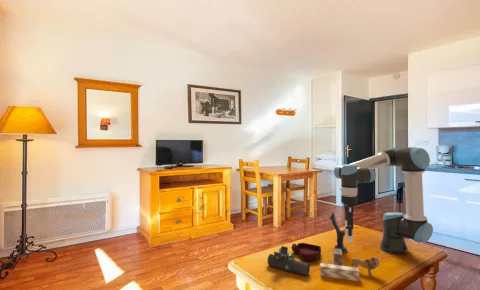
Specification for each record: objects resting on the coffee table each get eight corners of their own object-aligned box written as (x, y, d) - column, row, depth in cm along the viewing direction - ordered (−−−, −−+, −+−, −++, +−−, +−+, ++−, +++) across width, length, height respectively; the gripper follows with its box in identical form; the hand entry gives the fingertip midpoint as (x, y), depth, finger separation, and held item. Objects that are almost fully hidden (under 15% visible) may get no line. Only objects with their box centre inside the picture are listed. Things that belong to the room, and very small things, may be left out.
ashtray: (329, 260, 154) (329, 251, 153) (304, 264, 149) (304, 255, 149) (312, 248, 171) (312, 241, 171) (289, 251, 166) (289, 243, 166)
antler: (342, 247, 172) (342, 208, 171) (351, 252, 164) (351, 211, 164) (327, 250, 168) (327, 210, 168) (335, 255, 160) (335, 213, 160)
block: (358, 277, 134) (358, 267, 134) (359, 281, 130) (359, 271, 130) (320, 272, 140) (320, 262, 140) (320, 276, 136) (320, 266, 136)
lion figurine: (379, 273, 138) (379, 256, 138) (379, 278, 133) (379, 260, 133) (348, 267, 145) (348, 250, 145) (347, 271, 140) (347, 254, 140)
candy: (294, 259, 153) (291, 253, 153) (290, 263, 152) (286, 257, 152) (285, 251, 165) (281, 246, 164) (280, 254, 164) (277, 249, 163)
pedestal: (342, 263, 150) (343, 248, 150) (344, 270, 141) (344, 255, 141) (331, 261, 152) (331, 247, 152) (332, 268, 143) (332, 253, 143)
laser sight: (304, 279, 132) (304, 259, 132) (264, 268, 144) (264, 249, 144) (311, 271, 140) (311, 252, 140) (272, 261, 153) (272, 243, 152)
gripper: (339, 190, 148) (339, 229, 148) (342, 199, 124) (342, 245, 125) (354, 191, 146) (354, 230, 146) (360, 200, 122) (359, 247, 122)
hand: (348, 237), depth 135 cm, fingers open, 13 cm apart
